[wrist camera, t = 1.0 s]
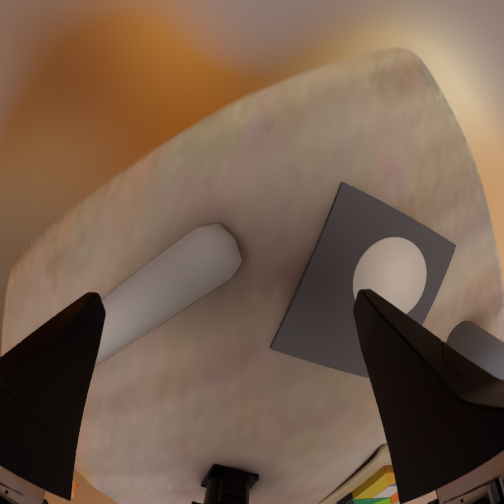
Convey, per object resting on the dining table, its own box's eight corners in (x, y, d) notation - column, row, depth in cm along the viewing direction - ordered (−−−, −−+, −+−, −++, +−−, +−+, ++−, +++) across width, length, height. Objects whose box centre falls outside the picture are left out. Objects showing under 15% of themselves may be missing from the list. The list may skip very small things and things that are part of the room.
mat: (386, 379, 26) (389, 383, 25) (270, 345, 25) (270, 349, 25) (452, 244, 23) (456, 245, 23) (340, 182, 23) (343, 182, 22)
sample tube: (461, 363, 25) (520, 416, 13) (436, 356, 25) (501, 417, 12) (481, 325, 25) (549, 368, 12) (458, 314, 24) (534, 361, 12)
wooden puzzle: (311, 506, 31) (314, 521, 27) (379, 439, 28) (387, 456, 24) (387, 503, 31) (391, 515, 28) (451, 441, 28) (460, 453, 25)
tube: (206, 201, 20) (33, 345, 22) (245, 264, 19) (52, 390, 21) (227, 219, 25) (64, 341, 27) (259, 269, 24) (83, 380, 26)
